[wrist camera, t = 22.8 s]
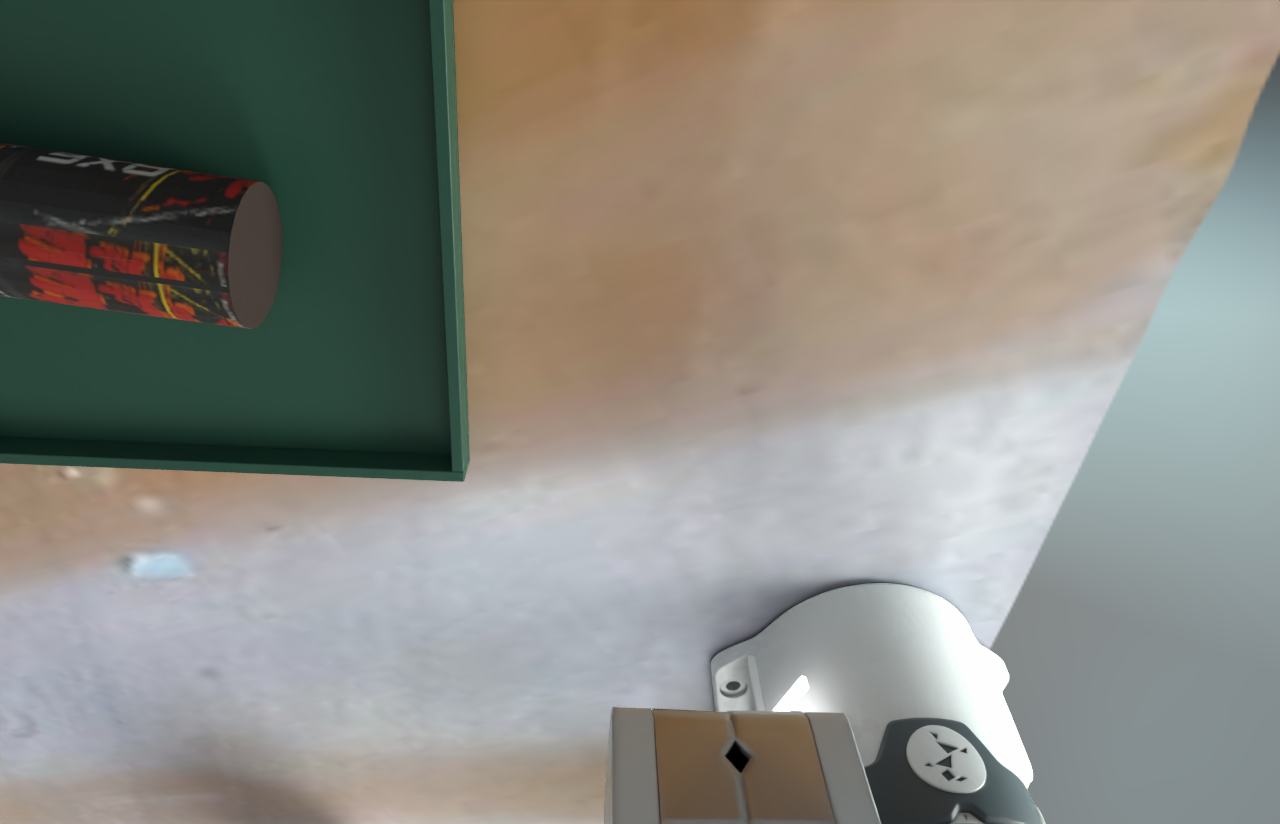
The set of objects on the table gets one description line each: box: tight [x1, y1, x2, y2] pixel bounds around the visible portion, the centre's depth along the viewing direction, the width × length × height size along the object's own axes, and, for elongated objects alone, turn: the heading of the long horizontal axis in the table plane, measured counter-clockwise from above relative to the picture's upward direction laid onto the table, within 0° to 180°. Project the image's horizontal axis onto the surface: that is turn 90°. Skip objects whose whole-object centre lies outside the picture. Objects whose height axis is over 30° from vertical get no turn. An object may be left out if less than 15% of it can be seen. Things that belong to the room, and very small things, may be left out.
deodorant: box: [0, 143, 283, 329], centre depth 32 cm, size 6×6×15 cm
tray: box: [0, 0, 470, 481], centre depth 35 cm, size 23×24×2 cm
